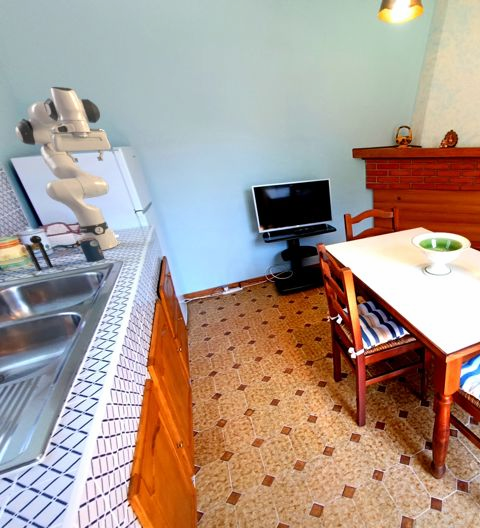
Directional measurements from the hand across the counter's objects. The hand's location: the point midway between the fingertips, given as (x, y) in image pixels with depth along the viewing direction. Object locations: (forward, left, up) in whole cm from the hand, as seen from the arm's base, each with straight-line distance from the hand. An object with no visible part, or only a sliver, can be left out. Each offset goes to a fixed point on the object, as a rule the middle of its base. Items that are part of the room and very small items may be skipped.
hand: (88, 161), depth 137 cm
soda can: (-5, -10, -47) cm, 49 cm away
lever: (-10, -27, -34) cm, 45 cm away
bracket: (-15, -27, -47) cm, 56 cm away
